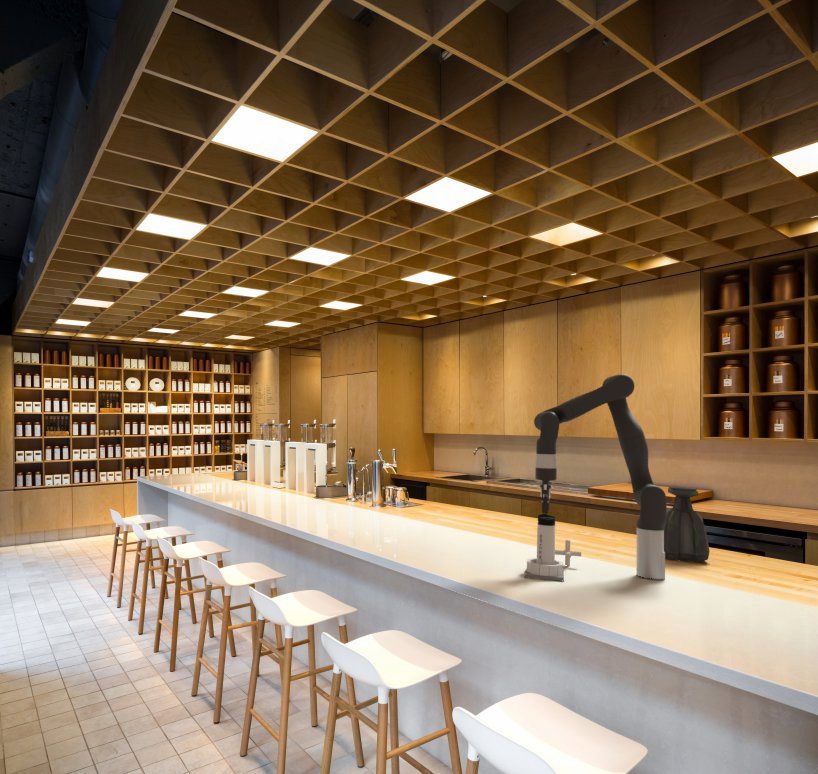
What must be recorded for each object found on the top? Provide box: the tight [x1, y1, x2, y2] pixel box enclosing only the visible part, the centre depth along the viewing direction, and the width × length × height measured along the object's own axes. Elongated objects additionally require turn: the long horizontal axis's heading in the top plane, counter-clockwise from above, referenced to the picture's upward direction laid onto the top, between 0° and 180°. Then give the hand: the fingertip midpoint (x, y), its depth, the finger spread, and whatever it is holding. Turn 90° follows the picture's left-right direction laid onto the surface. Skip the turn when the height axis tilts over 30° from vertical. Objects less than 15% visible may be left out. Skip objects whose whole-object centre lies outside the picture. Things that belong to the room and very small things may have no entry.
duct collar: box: [524, 557, 565, 582], centre depth 207 cm, size 13×13×5 cm
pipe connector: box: [555, 539, 582, 567], centre depth 223 cm, size 10×10×10 cm
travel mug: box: [536, 513, 556, 565], centre depth 208 cm, size 6×7×20 cm
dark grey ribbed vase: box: [664, 486, 710, 563], centre depth 249 cm, size 18×16×30 cm
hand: (545, 512), depth 208 cm, fingers open, 8 cm apart
